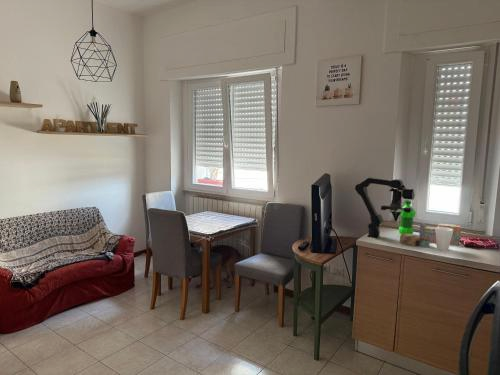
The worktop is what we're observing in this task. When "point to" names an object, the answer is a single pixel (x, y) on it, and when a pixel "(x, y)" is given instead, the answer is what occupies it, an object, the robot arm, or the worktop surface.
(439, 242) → the foam cup
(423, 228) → the pusher
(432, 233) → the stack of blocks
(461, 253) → the worktop surface
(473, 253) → the worktop surface
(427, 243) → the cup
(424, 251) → the worktop surface
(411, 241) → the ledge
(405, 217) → the plastic bottle
